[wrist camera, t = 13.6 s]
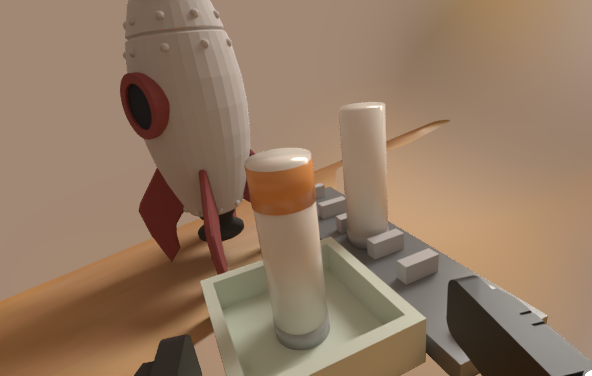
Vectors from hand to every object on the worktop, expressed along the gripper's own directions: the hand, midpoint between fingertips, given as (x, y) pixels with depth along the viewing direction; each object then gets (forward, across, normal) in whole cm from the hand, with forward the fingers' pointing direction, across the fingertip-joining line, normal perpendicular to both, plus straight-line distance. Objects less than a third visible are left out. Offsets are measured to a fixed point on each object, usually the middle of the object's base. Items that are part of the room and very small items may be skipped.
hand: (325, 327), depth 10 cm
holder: (+18, -8, +10) cm, 22 cm away
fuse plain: (+18, -8, +8) cm, 21 cm away
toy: (+23, +6, +10) cm, 26 cm away
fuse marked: (+10, 0, +9) cm, 13 cm away
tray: (+10, 0, +10) cm, 14 cm away
